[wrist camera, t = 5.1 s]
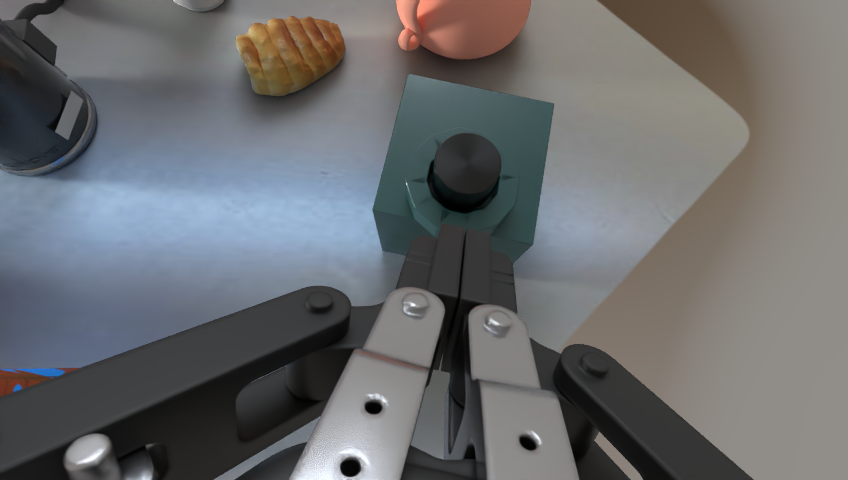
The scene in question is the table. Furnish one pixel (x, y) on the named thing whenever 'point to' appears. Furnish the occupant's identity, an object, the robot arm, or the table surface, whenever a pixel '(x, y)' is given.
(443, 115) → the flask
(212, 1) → the energy drink can
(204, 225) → the table surface
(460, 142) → the black knob
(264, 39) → the pastry
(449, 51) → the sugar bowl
